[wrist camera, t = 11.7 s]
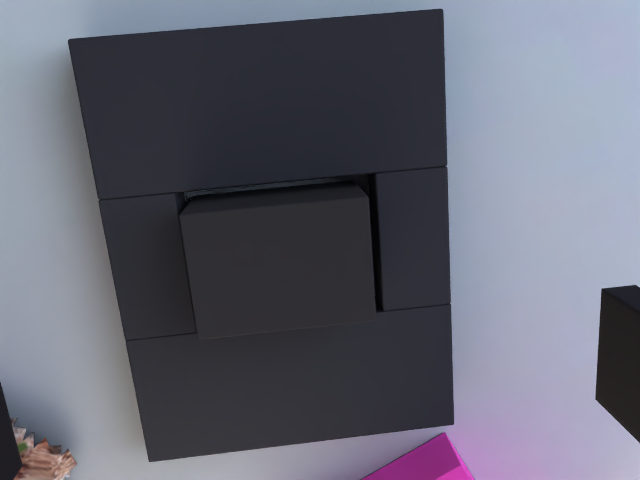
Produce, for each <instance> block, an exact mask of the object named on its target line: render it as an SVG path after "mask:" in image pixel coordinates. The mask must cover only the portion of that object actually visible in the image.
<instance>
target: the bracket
mask: <svg viewBox="0 0 640 480" xmlns="http://www.w3.org/2000/svg"><path fill="white" fill-rule="evenodd" d="M362 480H475V479H474V478H473V476H472V475H471V473H470V471H469V470H468V468H467V467H466V465H465V463H464V462H463V460H462V459H461V457H460V456H459V454H458V452H457V451H456V449H455V448H454V446H453V444H452V443H451V441H450V440H449V438H448V437H447V435H446V433H445V432H444V433H442V434H441V435H439V436H437V437H435V438H434V439H432V440H430V441H428V442H427V443H425V444H423V445H421V446H420V447H418V448H416V449H414V450H413V451H411V452H409V453H407V454H406V455H404V456H402V457H400V458H399V459H397V460H395V461H393V462H392V463H390V464H388V465H386V466H385V467H383V468H381V469H379V470H378V471H376V472H374V473H372V474H371V475H369V476H367V477H365V478H364V479H362Z"/></svg>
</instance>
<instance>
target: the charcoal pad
mask: <svg viewBox="0 0 640 480" xmlns="http://www.w3.org/2000/svg"><path fill="white" fill-rule="evenodd" d="M68 45H69V50H70V55H71V60H72V65H73V71H74V76H75V81H76V86H77V91H78V96H79V102H80V107H81V112H82V117H83V122H84V127H85V133H86V138H87V143H88V148H89V153H90V158H91V164H92V169H93V174H94V179H95V184H96V189H97V195H98V198H99V199H100V200H99V201H98V202H99V207H100V212H101V217H102V223H103V228H104V233H105V238H106V243H107V248H108V254H109V259H110V264H111V269H112V274H113V279H114V285H115V290H116V295H117V300H118V305H119V310H120V316H121V321H122V326H123V331H124V336H125V340H126V346H127V351H128V356H129V361H130V366H131V372H132V377H133V382H134V387H135V392H136V398H137V403H138V408H139V413H140V418H141V423H142V429H143V434H144V439H145V444H146V449H147V454H148V460H149V462H154V461H162V460H171V459H179V458H187V457H195V456H203V455H211V454H219V453H227V452H236V451H244V450H252V449H260V448H268V447H276V446H284V445H292V444H301V443H309V442H317V441H325V440H333V439H341V438H349V437H357V436H365V435H374V434H382V433H390V432H398V431H406V430H414V429H422V428H430V427H439V426H447V425H453V424H454V404H453V364H452V325H451V304H450V302H451V292H450V252H449V213H448V174H447V167H446V166H447V136H446V96H445V57H444V18H443V9H431V10H419V11H406V12H394V13H382V14H369V15H357V16H345V17H333V18H320V19H308V20H296V21H284V22H271V23H259V24H247V25H234V26H222V27H210V28H198V29H185V30H173V31H161V32H149V33H136V34H124V35H112V36H100V37H87V38H75V39H69V40H68ZM362 174H368V186H369V202H370V218H371V234H372V249H373V265H374V281H375V295H376V296H375V305H376V320H375V321H366V322H357V323H348V324H339V325H330V326H321V327H312V328H303V329H294V330H285V331H276V332H267V333H257V334H248V335H239V336H230V337H221V338H212V339H203V340H199V339H198V336H197V330H196V323H195V317H194V310H193V304H192V297H191V291H190V284H189V278H188V271H187V265H186V258H185V252H184V246H183V239H182V233H181V226H180V220H179V215H180V214H181V212H182V211H183V210H184V209H185V208H186V203H185V196H184V192H187V191H197V190H208V189H218V188H228V187H239V186H249V185H259V184H269V183H280V182H290V181H300V180H311V179H321V178H331V177H341V176H352V175H362Z"/></svg>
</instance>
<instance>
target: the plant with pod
mask: <svg viewBox="0 0 640 480" xmlns="http://www.w3.org/2000/svg"><path fill="white" fill-rule="evenodd" d="M17 419H18V418H10V420H11V424H12V427H13V431H14V435H15V439H16V442H17V446H18V450H19V453H20V457H21V461H22V465H23V466H22V468H21V469H20V471H19V472H18V474H17V475H16V477H15V478H14V479H13V480H65V478H64V477H70V476H71V469H72V468H73V467H74V466H75V465H76V464H77V463H76V461H75V460H74V458H73V457H72V455H71V453H70V451H69V449H67V450H66V452H65V453H64V454H63V455H62V456H61V445H58V446H49V445H48V443H47V440H46V437H45V438H44V439H43V440H42V441H41V442H40V443H39V444H38V445H37V446H36V447H35V448H34V432H33V433H32V434H31V435H29V436H28V437H27V438H26V439H25V440H23V439H24V435H25V432H26V429H24V428H19V427H14V424H15V422H16V421H17Z"/></svg>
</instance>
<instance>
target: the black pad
mask: <svg viewBox="0 0 640 480" xmlns="http://www.w3.org/2000/svg"><path fill="white" fill-rule="evenodd" d="M179 220H180V226H181V233H182V239H183V246H184V252H185V258H186V265H187V271H188V278H189V284H190V291H191V297H192V304H193V310H194V317H195V323H196V330H197V336H198V339H199V340H203V339H212V338H221V337H230V336H239V335H248V334H257V333H267V332H276V331H285V330H294V329H303V328H312V327H321V326H330V325H339V324H348V323H357V322H366V321H375V320H376V305H375V289H374V273H373V257H372V241H371V225H370V209H369V197H368V196H367V195H366V194H365V193H364V192H363V190H362V189H361V188H360V187H359V186H358V185H357V184H356V183H355V182H354V181H344V182H333V183H323V184H313V185H302V186H292V187H281V188H271V189H261V190H250V191H240V192H229V193H219V194H209V195H198V196H194V198H193V199H192V200H191V201H190V203H189V204H188V205H187V206H186V208H185V209H184V210H183V211H182V212H181V214H180V215H179Z"/></svg>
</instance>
